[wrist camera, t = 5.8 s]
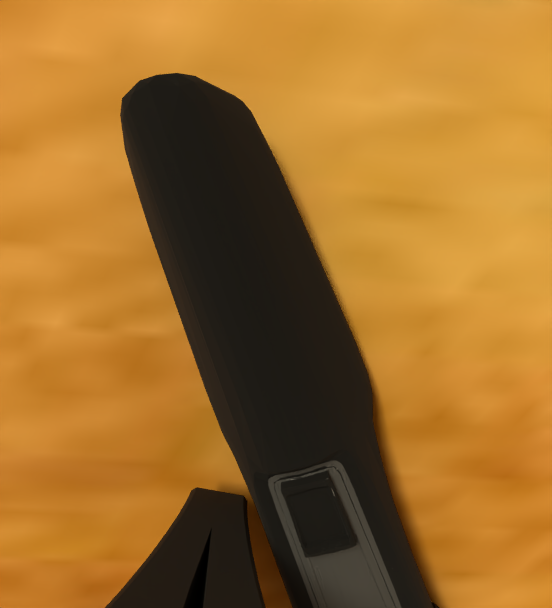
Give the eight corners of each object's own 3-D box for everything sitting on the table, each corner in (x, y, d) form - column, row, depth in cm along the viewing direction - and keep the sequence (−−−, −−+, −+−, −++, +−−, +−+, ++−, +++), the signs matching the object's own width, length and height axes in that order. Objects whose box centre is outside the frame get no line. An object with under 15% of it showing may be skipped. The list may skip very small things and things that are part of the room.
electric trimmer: (282, 64, 9) (273, 22, 6) (447, 619, 14) (489, 751, 11) (113, 128, 10) (30, 118, 7) (324, 642, 14) (330, 774, 11)
